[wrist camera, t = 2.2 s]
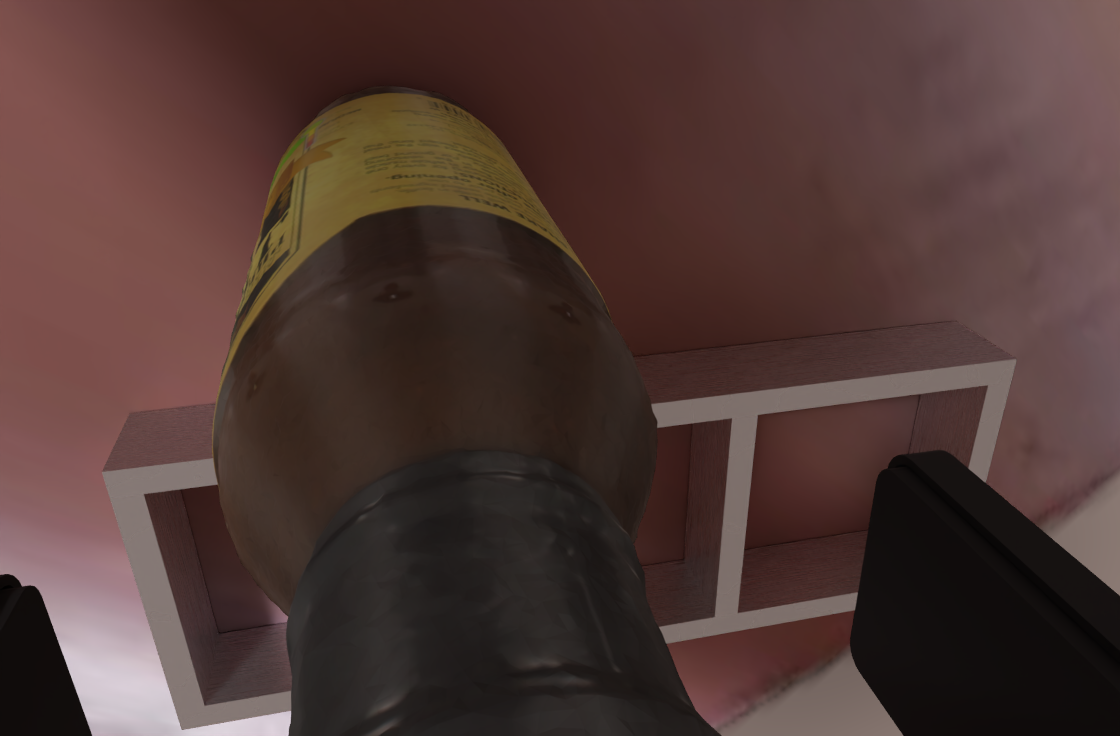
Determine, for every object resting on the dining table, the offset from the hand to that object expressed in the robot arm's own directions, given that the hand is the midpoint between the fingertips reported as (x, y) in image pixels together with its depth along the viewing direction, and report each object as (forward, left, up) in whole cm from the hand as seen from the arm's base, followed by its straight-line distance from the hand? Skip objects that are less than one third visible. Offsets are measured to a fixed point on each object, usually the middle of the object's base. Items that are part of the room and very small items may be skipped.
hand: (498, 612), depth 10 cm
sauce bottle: (-1, 0, -16) cm, 16 cm away
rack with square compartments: (+9, +5, -16) cm, 19 cm away
